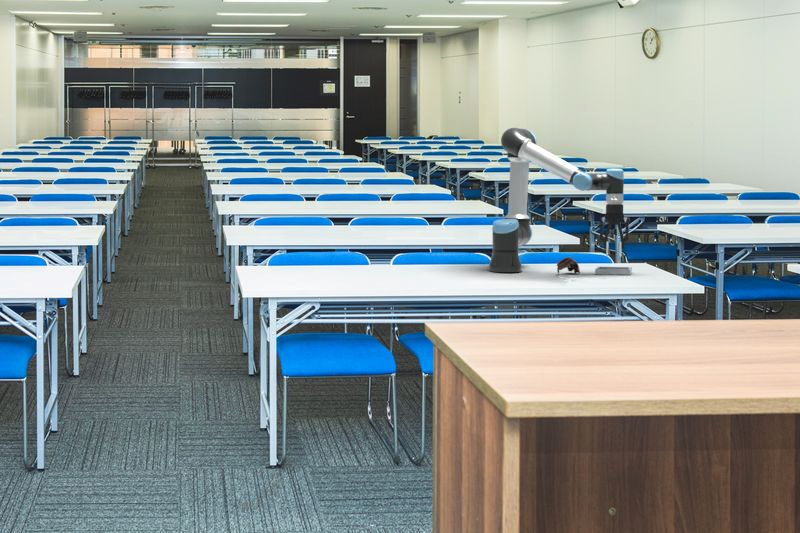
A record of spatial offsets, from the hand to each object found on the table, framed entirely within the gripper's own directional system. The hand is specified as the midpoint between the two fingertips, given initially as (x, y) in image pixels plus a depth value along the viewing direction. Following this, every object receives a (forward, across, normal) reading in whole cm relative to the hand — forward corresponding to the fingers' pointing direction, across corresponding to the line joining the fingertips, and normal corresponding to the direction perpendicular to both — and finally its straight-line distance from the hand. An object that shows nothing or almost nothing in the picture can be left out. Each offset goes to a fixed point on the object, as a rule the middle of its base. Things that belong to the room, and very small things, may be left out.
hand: (613, 256), depth 477 cm
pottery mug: (+9, -18, -3) cm, 20 cm away
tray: (+8, 0, 0) cm, 8 cm away
